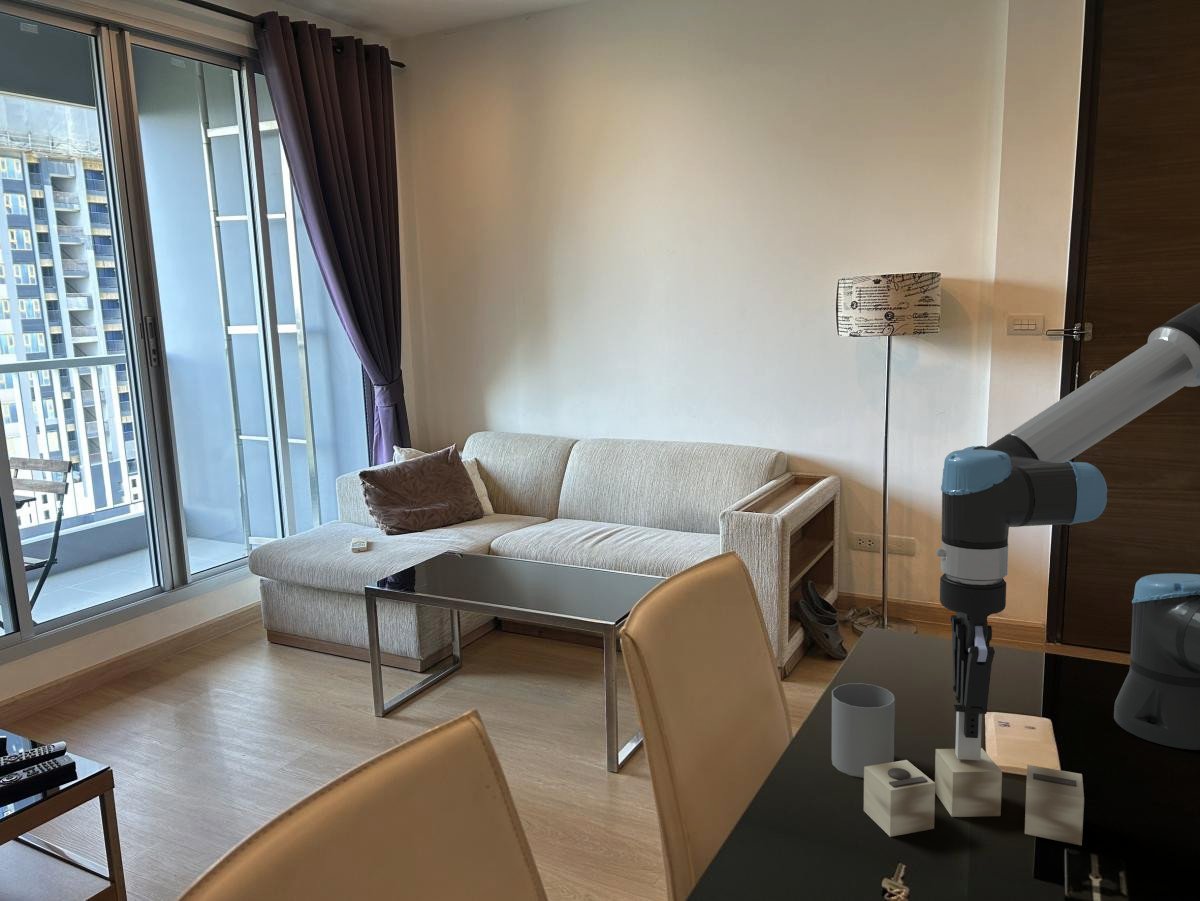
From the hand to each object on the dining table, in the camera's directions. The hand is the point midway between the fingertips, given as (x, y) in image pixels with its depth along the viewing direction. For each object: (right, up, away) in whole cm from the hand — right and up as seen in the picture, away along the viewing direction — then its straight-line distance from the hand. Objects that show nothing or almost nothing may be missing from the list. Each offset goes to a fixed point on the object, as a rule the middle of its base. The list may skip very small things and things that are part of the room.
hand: (967, 756), depth 111 cm
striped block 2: (+8, -7, -5) cm, 12 cm away
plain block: (0, -6, +1) cm, 6 cm away
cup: (-10, -5, +12) cm, 16 cm away
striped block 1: (-10, -7, -2) cm, 12 cm away
